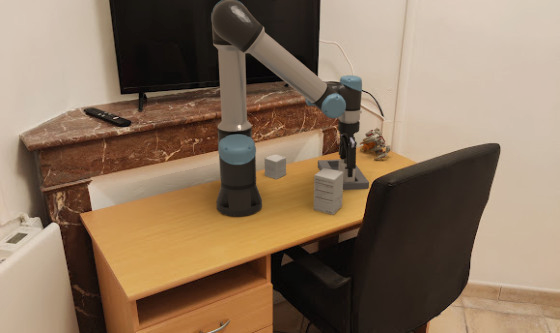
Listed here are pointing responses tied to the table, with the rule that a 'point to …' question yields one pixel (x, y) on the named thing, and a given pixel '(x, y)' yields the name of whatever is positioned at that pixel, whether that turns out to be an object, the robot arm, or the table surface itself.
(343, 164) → the plug
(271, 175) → the product box
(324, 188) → the supplement box
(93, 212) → the table surface
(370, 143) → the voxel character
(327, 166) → the dark grey compartment tray
